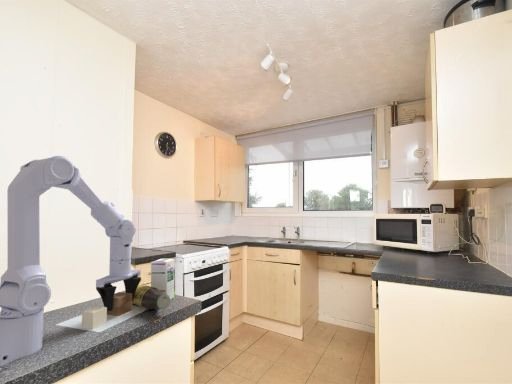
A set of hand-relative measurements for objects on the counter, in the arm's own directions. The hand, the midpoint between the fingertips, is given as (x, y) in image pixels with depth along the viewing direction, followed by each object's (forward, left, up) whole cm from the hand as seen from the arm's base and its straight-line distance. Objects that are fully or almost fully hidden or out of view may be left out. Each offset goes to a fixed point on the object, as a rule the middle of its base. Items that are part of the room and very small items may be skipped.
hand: (119, 305), depth 79 cm
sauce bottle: (+10, +3, 0) cm, 10 cm away
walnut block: (0, 0, -2) cm, 2 cm away
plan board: (-3, +2, -3) cm, 4 cm away
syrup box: (+12, -6, -3) cm, 14 cm away
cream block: (-9, -1, -2) cm, 9 cm away
